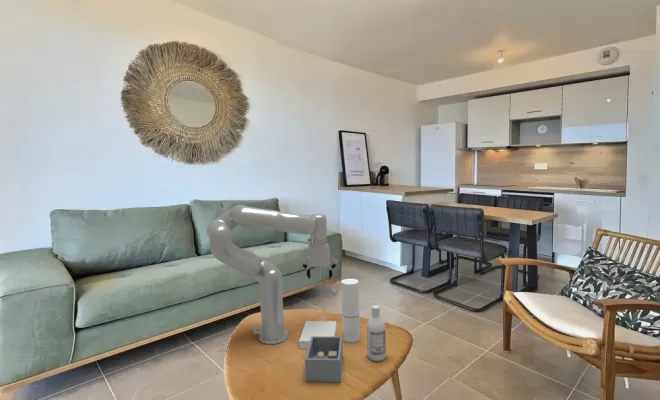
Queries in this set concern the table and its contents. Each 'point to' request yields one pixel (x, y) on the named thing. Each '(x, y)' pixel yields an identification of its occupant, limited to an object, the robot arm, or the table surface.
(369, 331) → the bath foam
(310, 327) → the lid
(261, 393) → the table surface
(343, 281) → the cylindrical container
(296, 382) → the table surface
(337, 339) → the tub
